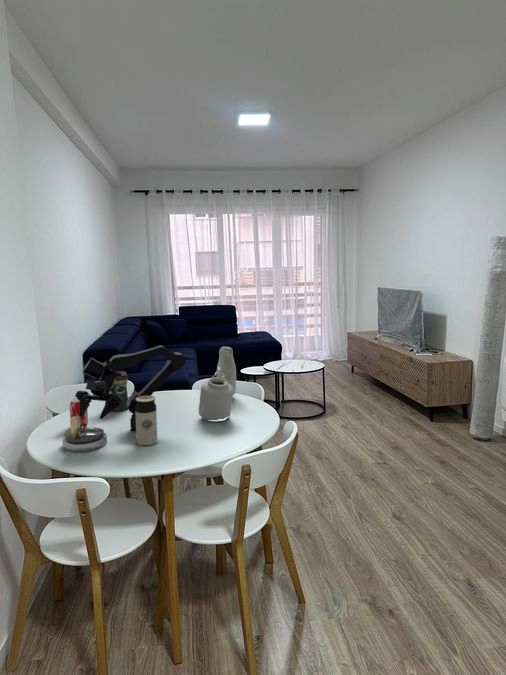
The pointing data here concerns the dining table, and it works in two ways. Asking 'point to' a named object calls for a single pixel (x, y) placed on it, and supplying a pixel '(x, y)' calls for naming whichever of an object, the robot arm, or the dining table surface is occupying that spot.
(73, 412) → the soda can
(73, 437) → the dial
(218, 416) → the jar
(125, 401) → the coffee jar
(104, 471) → the dining table surface
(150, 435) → the travel mug
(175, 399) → the dining table surface
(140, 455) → the dining table surface
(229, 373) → the grey bottle
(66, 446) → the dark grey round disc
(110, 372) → the robot arm
